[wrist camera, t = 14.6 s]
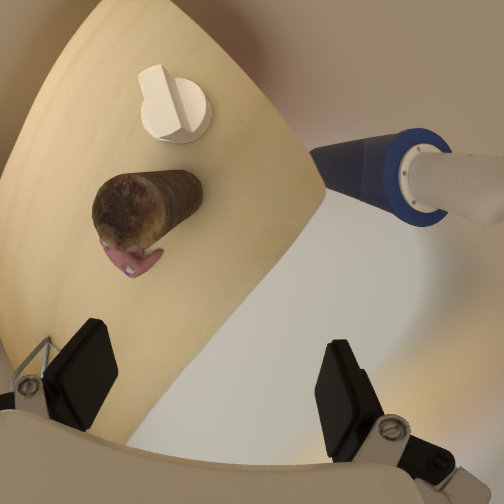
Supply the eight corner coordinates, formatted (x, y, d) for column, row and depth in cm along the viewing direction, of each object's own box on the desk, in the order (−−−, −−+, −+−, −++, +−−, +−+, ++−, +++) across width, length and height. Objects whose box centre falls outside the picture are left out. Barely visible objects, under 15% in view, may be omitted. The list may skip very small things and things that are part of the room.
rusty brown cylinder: (160, 166, 39) (91, 173, 20) (206, 169, 40) (167, 176, 21) (156, 214, 42) (92, 255, 23) (201, 219, 42) (163, 266, 23)
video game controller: (118, 219, 43) (90, 241, 38) (127, 206, 41) (97, 227, 35) (154, 262, 46) (129, 287, 40) (166, 252, 43) (140, 278, 38)
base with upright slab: (220, 131, 38) (208, 119, 26) (164, 152, 39) (133, 150, 27) (202, 80, 35) (185, 52, 24) (148, 102, 36) (114, 84, 25)
